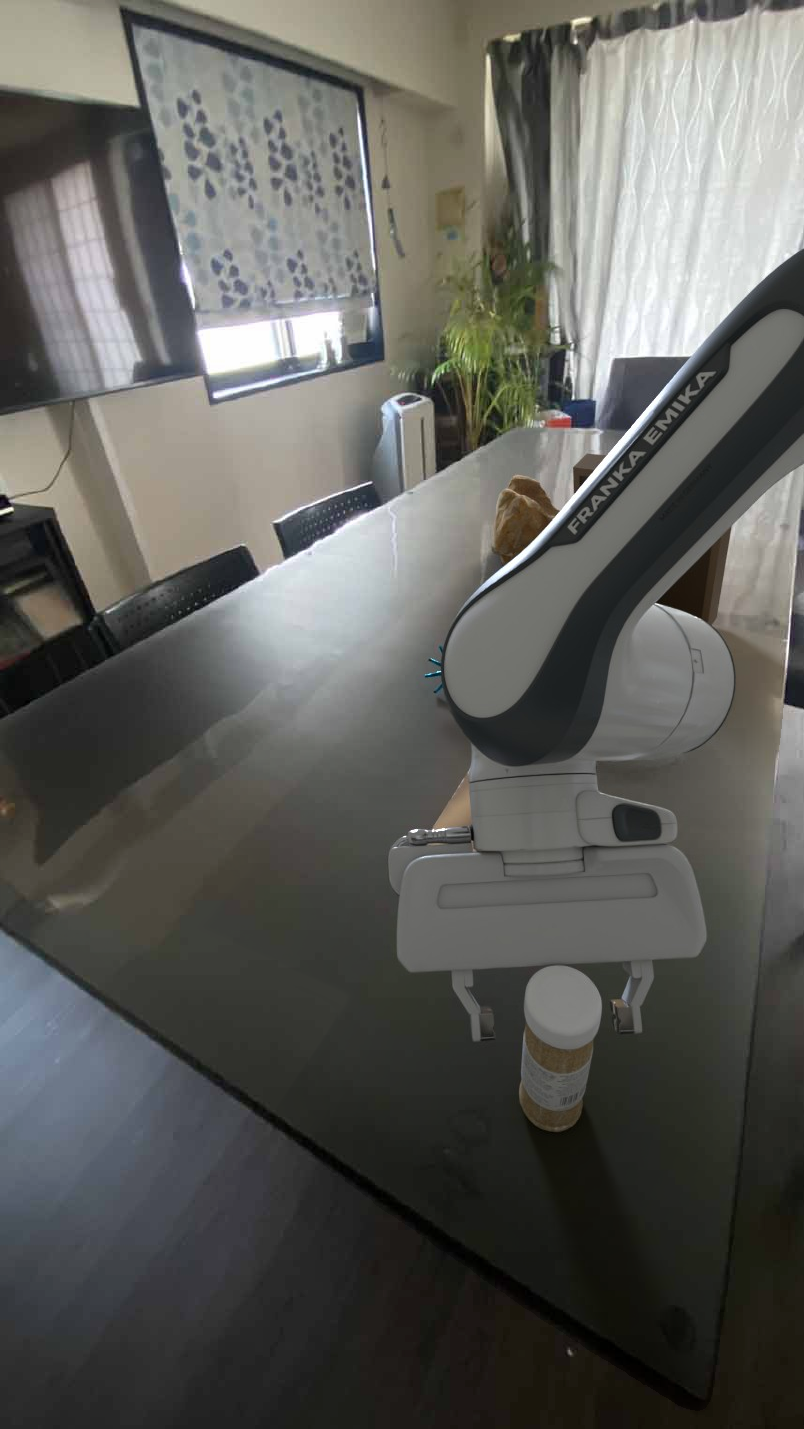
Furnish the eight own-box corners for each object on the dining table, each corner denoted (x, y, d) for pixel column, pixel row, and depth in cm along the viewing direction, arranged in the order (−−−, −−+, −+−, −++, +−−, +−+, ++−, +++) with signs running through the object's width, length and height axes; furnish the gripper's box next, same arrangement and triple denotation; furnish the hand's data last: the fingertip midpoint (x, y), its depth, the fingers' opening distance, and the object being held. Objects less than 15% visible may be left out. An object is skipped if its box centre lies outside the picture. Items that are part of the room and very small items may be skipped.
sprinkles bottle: (564, 1060, 48) (580, 954, 41) (594, 1124, 45) (618, 1020, 37) (507, 1078, 48) (513, 973, 40) (533, 1144, 44) (544, 1043, 36)
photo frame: (588, 593, 113) (603, 444, 99) (715, 623, 101) (753, 458, 87) (546, 626, 105) (557, 468, 90) (681, 663, 93) (717, 488, 78)
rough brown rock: (571, 589, 117) (586, 507, 109) (481, 578, 120) (489, 498, 112) (575, 546, 136) (588, 473, 127) (497, 538, 139) (505, 466, 131)
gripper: (382, 831, 41) (394, 1060, 39) (701, 812, 41) (732, 1043, 39) (388, 830, 48) (399, 1027, 45) (664, 814, 47) (690, 1013, 45)
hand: (555, 1035), depth 42 cm, fingers open, 8 cm apart
